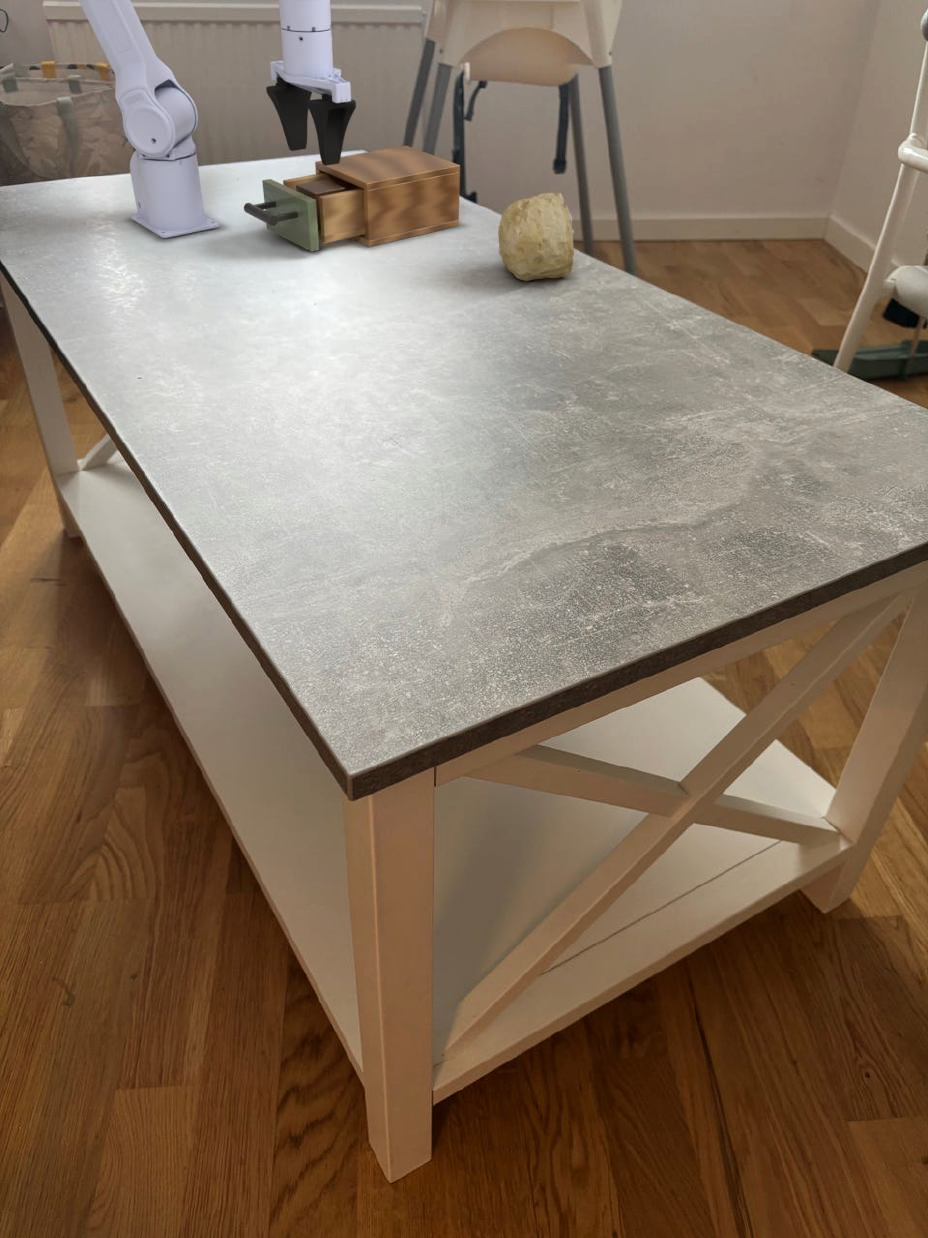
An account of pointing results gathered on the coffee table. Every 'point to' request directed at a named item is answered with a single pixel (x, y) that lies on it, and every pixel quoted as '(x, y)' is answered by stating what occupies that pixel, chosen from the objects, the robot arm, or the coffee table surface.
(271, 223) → the drawer
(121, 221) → the coffee table surface
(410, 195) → the cabinet
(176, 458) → the coffee table surface
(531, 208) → the beige lumpy stone
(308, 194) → the block
